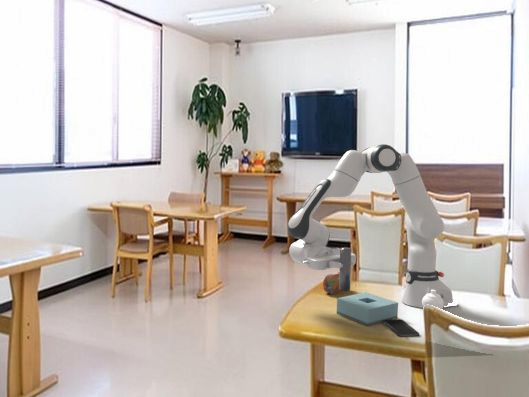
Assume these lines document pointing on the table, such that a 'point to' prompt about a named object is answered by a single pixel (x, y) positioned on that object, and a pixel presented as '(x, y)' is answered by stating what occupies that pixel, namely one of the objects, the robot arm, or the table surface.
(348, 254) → the pin
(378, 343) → the table surface
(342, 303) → the hole block
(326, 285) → the tin
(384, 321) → the phone
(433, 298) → the spinning top
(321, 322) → the table surface
